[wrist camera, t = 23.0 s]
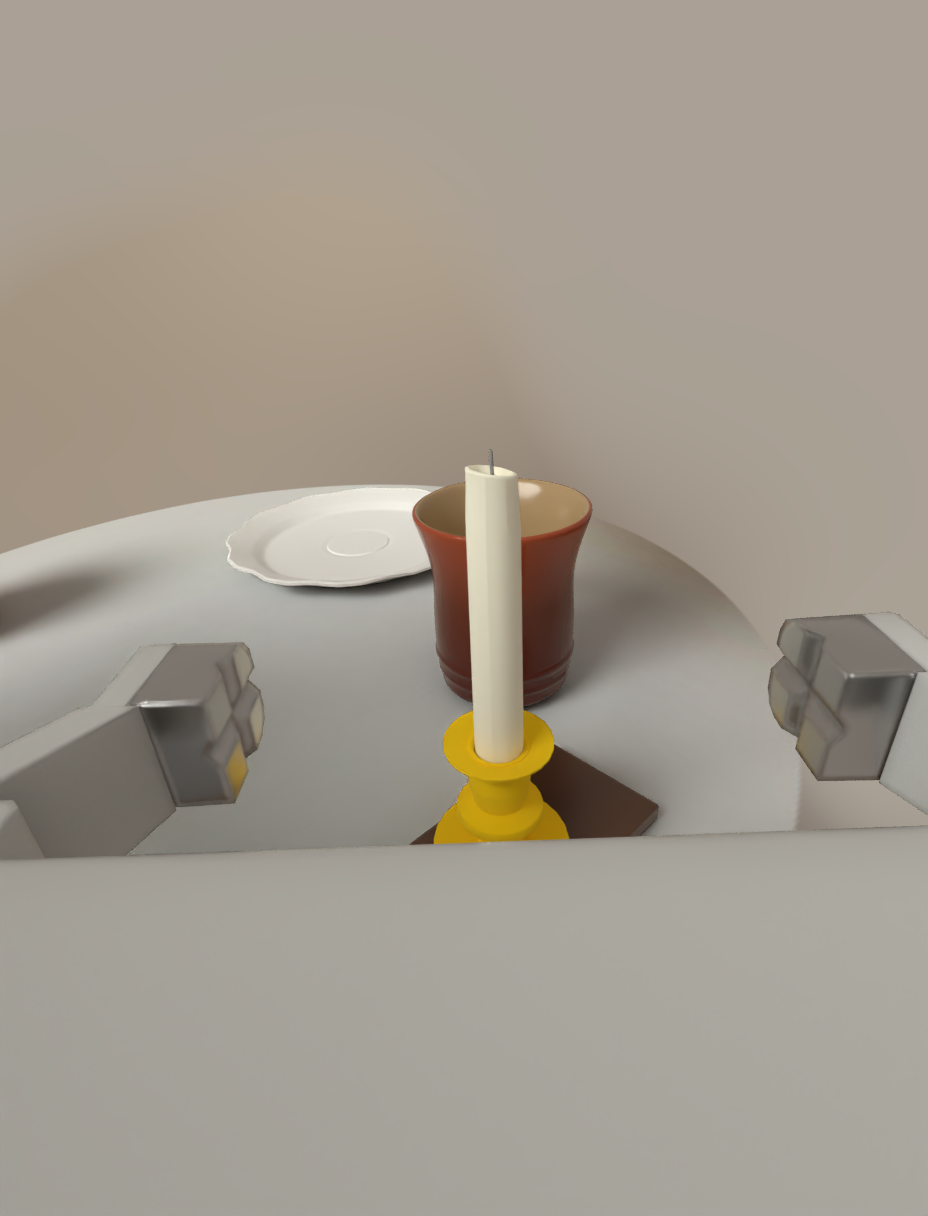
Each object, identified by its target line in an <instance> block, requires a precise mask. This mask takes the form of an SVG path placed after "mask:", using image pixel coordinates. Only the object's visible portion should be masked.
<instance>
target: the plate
mask: <svg viewBox="0 0 928 1216" xmlns="http://www.w3.org/2000/svg"><path fill="white" fill-rule="evenodd" d="M430 493H432V492H429V491H426V490H423V489H414V488H390V489H385V488H359V489H350V490H345V491H340V492H335V493H328V494H320V495H312V496H308V497H304V498H300V499H297V500H294V501H292V502H290V503H287V504H285V505H283V506H280V507H276V508H273V509H269V510H266V511H263V512H261V513H259V514H257V515H255V516H253V517H251V518H250V519H249V520H248V521H247V522H246V523H245V525H244V526H243V527H241V528H239V529H238V530H236V531H235V532H233V533H232V534H230V535H229V537H228V538H227V540H226V542H225V544H226V546H227V548H228V550H229V555H228V559H227V560H228V563H229V564H230V565H231V566H232V567H233V568H234V569H236V570H239V571H243V572H247V573H250V574H254V575H255V576H257V577H258V578H260V579H262V580H263V581H265V582H268V583H273V584H279V585H284V586H298V585H310V586H320V587H349V586H360V585H366V584H372V583H379V582H384V581H388V580H392V579H395V578H399V577H403V576H408V575H414V574H417V573H420V572H423V571H426V570H429V569H431V565H430V562H429V559H428V556H427V553H426V550H425V548H424V545H423V543H422V540H421V538H420V535H419V533H418V531H417V528H416V526H415V524H414V521H413V517H412V510H413V508H414V506H415V504H416V503H417V502H418V501H419V500H420V499H421V498H423V497H424V496H426V495H428V494H430Z"/></svg>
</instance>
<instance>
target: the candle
mask: <svg viewBox="0 0 928 1216" xmlns="http://www.w3.org/2000/svg"><path fill="white" fill-rule="evenodd" d="M465 472H466V494H465V523H466V547H467V571H468V596H469V620H470V645H471V669H472V694H473V711H470V712H468V713H466V714H464V715H462V716H460V717H459V718H458V719H456V720H455V721H454V722H453V723H451V725H450V726H449V728H448V729H447V730H446V732H445V735H444V739H443V749H444V754H445V756H446V758H447V760H448V762H449V763H450V764H451V765H452V766H453V767H454V768H455V769H456V770H457V771H459V772H461V773H463V774H465V775H467V776H468V780H469V782H468V783H467V784H466V785H465V786H464V787H463V789H462V790H461V792H460V794H459V796H458V801H457V803H455V804H454V805H453V806H452V807H451V808H450V809H449V810H448V811H447V812H446V813H445V814H444V815H443V817H442V819H441V820H440V822H439V824H438V825H437V828H436V832H435V836H434V844H449V843H476V842H502V841H529V840H556V839H569V836H568V833H567V829H566V826H565V824H564V822H563V821H562V819H561V818H560V816H559V815H558V813H557V812H556V811H555V810H554V809H552V808H551V807H550V806H549V805H548V804H547V803H545V802H544V801H543V799H542V795H541V793H540V791H539V790H538V788H537V787H536V786H535V785H534V784H533V783H532V782H531V781H530V778H531V775H532V774H534V773H535V772H537V771H539V770H540V769H542V768H543V767H544V765H545V764H546V763H547V762H548V761H549V760H550V758H551V756H552V754H553V751H554V737H553V734H552V731H551V729H550V728H549V727H548V726H547V724H546V723H545V722H544V721H543V720H541V719H540V718H539V717H537V716H536V715H534V714H532V713H530V712H528V711H525V710H523V655H522V576H521V525H520V507H519V490H518V477H517V474H516V473H515V472H513V471H510V470H507V469H504V468H500V467H494V466H493V452H492V450H491V449H489V466H487V465H471V466H467V467H466V468H465Z"/></svg>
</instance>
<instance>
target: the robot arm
mask: <svg viewBox="0 0 928 1216" xmlns="http://www.w3.org/2000/svg"><path fill="white" fill-rule="evenodd" d="M777 645H778V647H779V648H780V650H781V652H782V653H783V655H784V656H783V657H782V658H781V659H780V660H779V661H778V662H777V663H776V664H775V665H774V666H773V667H772V668H771V672H770V678H769V684H768V694H769V703H770V707H771V710H772V712H773V715H774V718H775V719H776V721H777V722H778V724H779V725H780V727H781V728H782V729H783V730H785V731H787V732H789V733H791V734H792V735H794V736H796V737H798V740H797V744H796V748H795V749H796V750H797V752H798V753H799V755H800V756H801V758H802V759H803V761H804V762H805V763H806V765H807V766H808V768H809V769H810V770H811V772H812V774H813V775H814V776H815V778H816V779H817V781H839V780H840V781H845V780H880V781H879V783H880V784H882V785H883V786H885V787H886V788H888V789H889V790H891V791H892V792H894V793H895V794H897V795H898V796H900V797H901V798H903V799H904V800H906V801H907V802H909V803H910V804H912V805H913V806H915V807H916V808H918V809H919V810H921V811H922V812H924V813H925V814H927V815H928V637H926V636H925V635H924V634H923V633H922V632H921V631H919V630H918V629H917V628H915V627H914V626H913V625H912V624H911V623H909V622H908V621H907V620H906V619H904V618H903V617H902V616H901V615H899V614H896V613H891V612H880V613H868V614H854V615H840V616H825V617H810V618H796V619H787V620H785V622H784V623H783V625H782V627H781V629H780V632H779V636H778V641H777ZM253 668H254V663H253V660H252V656H251V653H250V649H249V648H248V647H247V646H246V645H245V644H244V643H243V642H233V643H193V644H176V643H175V644H160V645H147V646H143V647H140V648H139V649H138V650H137V652H136V653H135V654H134V655H133V656H132V658H131V659H130V660H129V661H128V662H127V664H126V665H125V666H124V667H123V668H122V670H121V671H120V672H119V673H118V674H117V676H116V677H115V678H114V679H113V680H112V682H111V683H110V684H109V685H108V686H107V688H106V689H105V690H104V691H103V692H102V693H101V695H100V696H99V697H98V698H97V699H96V701H95V702H94V703H93V704H92V705H91V707H86V708H78V709H76V710H74V711H72V712H70V713H68V714H66V715H64V716H62V717H60V718H58V719H56V720H54V721H52V722H50V723H48V724H46V725H45V726H43V727H41V728H39V729H37V730H35V731H33V732H31V733H29V734H27V735H25V736H23V737H21V738H19V739H17V740H15V741H13V742H11V743H9V744H7V745H5V746H3V747H1V748H0V1216H928V826H903V827H877V828H851V829H850V828H849V829H825V830H824V829H823V830H796V831H769V832H742V833H716V834H689V835H662V836H636V837H609V838H582V839H556V840H529V841H502V842H476V843H449V844H422V845H395V846H368V847H341V848H314V849H287V850H260V851H233V852H206V853H179V854H151V855H127V854H128V853H129V852H130V851H131V850H132V849H133V848H134V847H136V846H137V845H138V844H139V843H140V842H141V841H142V840H143V839H145V838H146V837H147V836H148V835H149V834H150V833H151V832H152V831H154V830H155V829H156V828H157V827H158V826H159V825H160V824H161V823H163V822H164V821H165V820H166V819H167V818H168V817H169V816H170V815H171V814H173V813H174V812H175V811H176V807H188V806H204V805H219V804H234V803H235V802H236V799H237V797H238V795H239V792H240V790H241V787H242V785H243V783H244V780H245V778H246V776H247V773H248V771H249V770H248V766H247V763H246V759H245V758H247V757H248V756H249V755H251V754H252V753H254V752H255V751H256V750H257V749H258V747H259V744H260V741H261V739H262V736H263V728H264V720H265V716H264V704H263V699H262V695H261V691H260V690H259V689H258V688H257V687H256V686H255V685H254V684H253V683H252V682H250V681H249V680H248V679H249V676H250V674H251V672H252V670H253Z"/></svg>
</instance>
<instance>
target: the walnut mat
mask: <svg viewBox="0 0 928 1216" xmlns="http://www.w3.org/2000/svg"><path fill="white" fill-rule="evenodd" d="M530 781H531V782H532V783H533V784H534V785H535V786H536V787H537V788H538V790H539V791H540V793H541V795H542V799H543V801H544V802H545V803H547V804H548V805H549V806H550V807H551V808H552V809H554V810H555V811H556V812H557V813H558V815H559V816H560V818H561V819H562V821H563V822H564V824H565V826H566V829H567V833H568V836H569V839H582V838H609V837H636V836H640V835H641V834H642V833H643V832H644V831H645V830H646V829H647V828H648V827H649V826H650V825H651V824H652V823H653V822H654V821H655V820H656V819H657V815H658V808H659V806H658V805H657V804H656V803H654V802H652V801H651V800H649V799H647V798H645V797H644V796H642V795H640V794H639V793H637V792H635V791H633V790H632V789H630V788H628V787H627V786H625V785H623V784H621V783H620V782H618V781H616V780H614V779H613V778H611V777H609V776H608V775H606V774H604V773H602V772H601V771H599V770H597V769H596V768H594V767H592V766H590V765H589V764H587V763H585V762H584V761H582V760H580V759H578V758H577V757H575V756H573V755H572V754H570V753H568V752H566V751H565V750H563V749H561V748H560V747H558V746H556V745H554V751H553V754H552V756H551V758H550V760H549V761H548V762H547V763H546V764H545V765H544V767H543V768H542V769H540V770H539V771H537V772H535V773H534V774H532V775H531V778H530ZM438 824H439V822H438V823H437V824H436V825H434V826H433V827H432V828H431V829H429V830H428V831H427V832H425V833H424V834H423V835H421V836H420V837H419V838H417V839H416V840H415V841H413V842H412V843H411V844H409V845H422V844H434V836H435V832H436V828H437V825H438Z"/></svg>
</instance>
